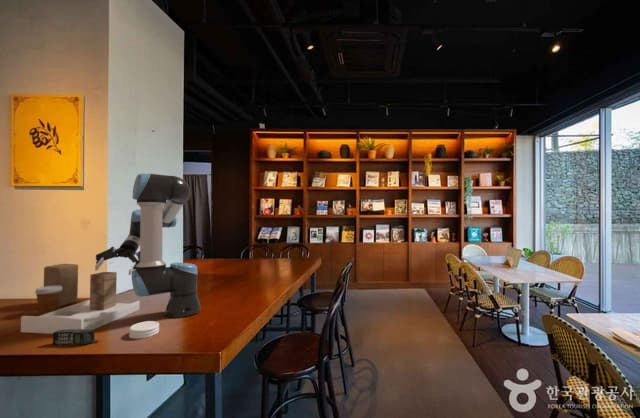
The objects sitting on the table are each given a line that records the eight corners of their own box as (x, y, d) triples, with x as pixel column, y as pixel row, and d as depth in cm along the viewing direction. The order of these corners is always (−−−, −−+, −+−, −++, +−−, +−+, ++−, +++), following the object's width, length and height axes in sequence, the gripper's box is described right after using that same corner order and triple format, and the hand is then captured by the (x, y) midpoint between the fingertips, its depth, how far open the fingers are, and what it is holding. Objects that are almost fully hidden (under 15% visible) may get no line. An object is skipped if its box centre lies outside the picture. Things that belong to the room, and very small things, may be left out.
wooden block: (57, 307, 143) (58, 267, 144) (42, 306, 145) (43, 266, 146) (78, 301, 153) (79, 264, 154) (63, 300, 155) (64, 263, 156)
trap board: (90, 307, 144) (91, 295, 144) (139, 309, 142) (139, 296, 142) (20, 332, 114) (21, 316, 114) (81, 335, 111) (81, 319, 111)
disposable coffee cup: (30, 317, 129) (31, 290, 129) (39, 311, 138) (39, 286, 138) (58, 314, 134) (59, 288, 134) (64, 308, 142) (65, 284, 142)
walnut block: (115, 305, 139) (116, 272, 140) (103, 310, 132) (104, 275, 133) (102, 305, 140) (103, 271, 140) (89, 309, 133) (90, 274, 133)
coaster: (140, 329, 118) (140, 320, 118) (164, 329, 117) (164, 320, 117) (122, 339, 108) (122, 330, 108) (149, 340, 107) (149, 330, 108)
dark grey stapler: (50, 332, 102) (94, 330, 103) (58, 328, 105) (100, 327, 106) (50, 346, 102) (94, 344, 103) (58, 342, 105) (100, 341, 106)
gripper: (155, 255, 158) (142, 280, 140) (102, 247, 151) (81, 272, 132) (157, 243, 156) (143, 267, 137) (103, 235, 148) (81, 259, 129)
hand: (113, 270), depth 134 cm, fingers open, 13 cm apart
